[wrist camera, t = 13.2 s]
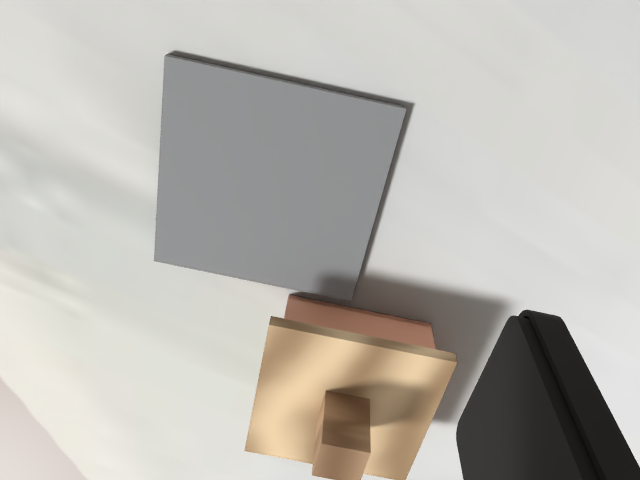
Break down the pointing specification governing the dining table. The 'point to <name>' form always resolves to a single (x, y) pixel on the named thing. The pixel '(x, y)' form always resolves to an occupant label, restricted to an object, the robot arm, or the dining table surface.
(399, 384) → the lid
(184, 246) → the mat
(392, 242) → the dining table surface
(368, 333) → the dish
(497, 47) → the dining table surface
